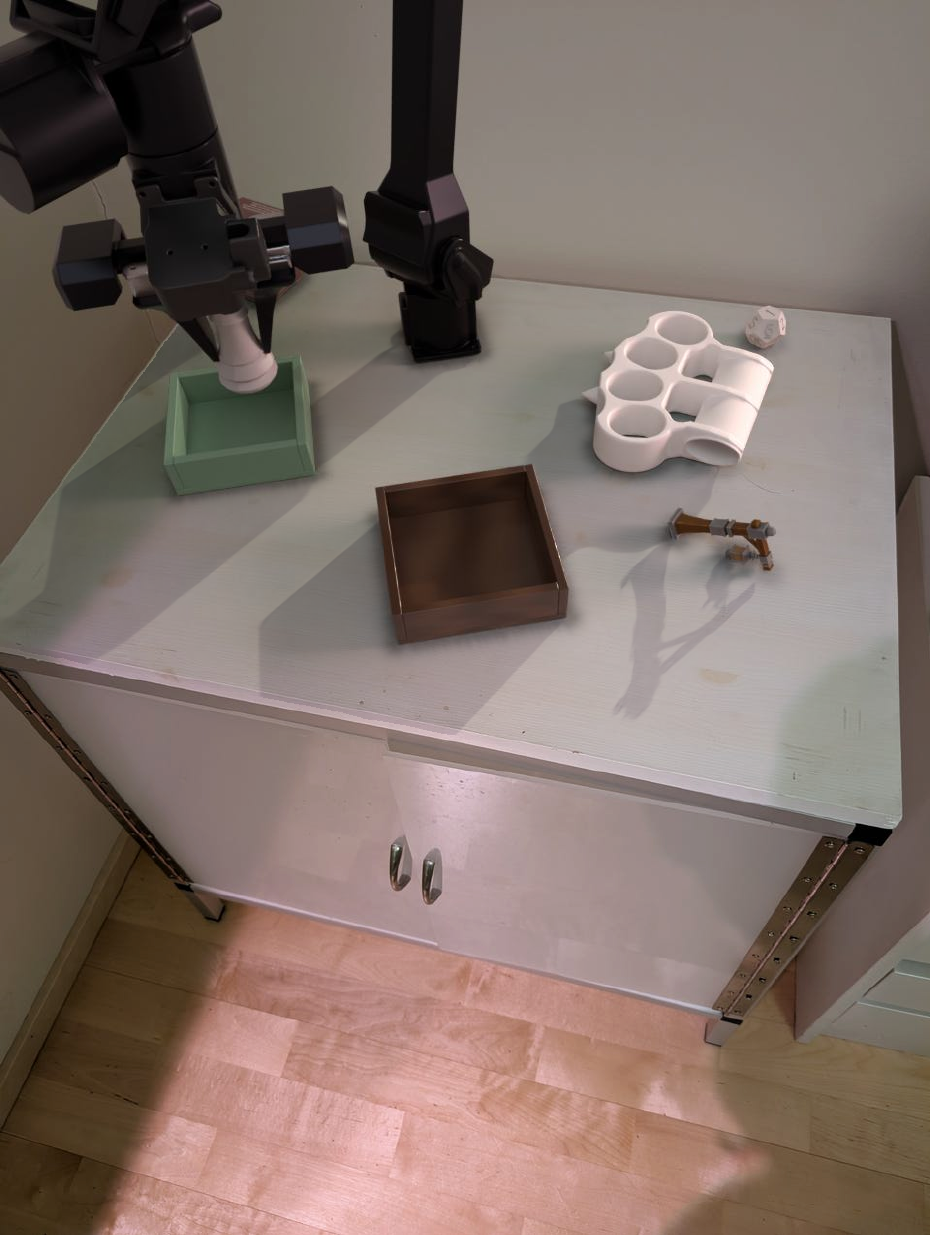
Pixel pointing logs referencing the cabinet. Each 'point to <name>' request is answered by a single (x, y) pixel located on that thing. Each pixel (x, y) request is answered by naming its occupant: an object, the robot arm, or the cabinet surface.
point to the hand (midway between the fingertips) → (242, 354)
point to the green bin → (237, 430)
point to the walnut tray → (469, 554)
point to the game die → (765, 326)
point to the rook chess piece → (242, 354)
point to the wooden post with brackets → (724, 527)
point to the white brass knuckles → (676, 396)
